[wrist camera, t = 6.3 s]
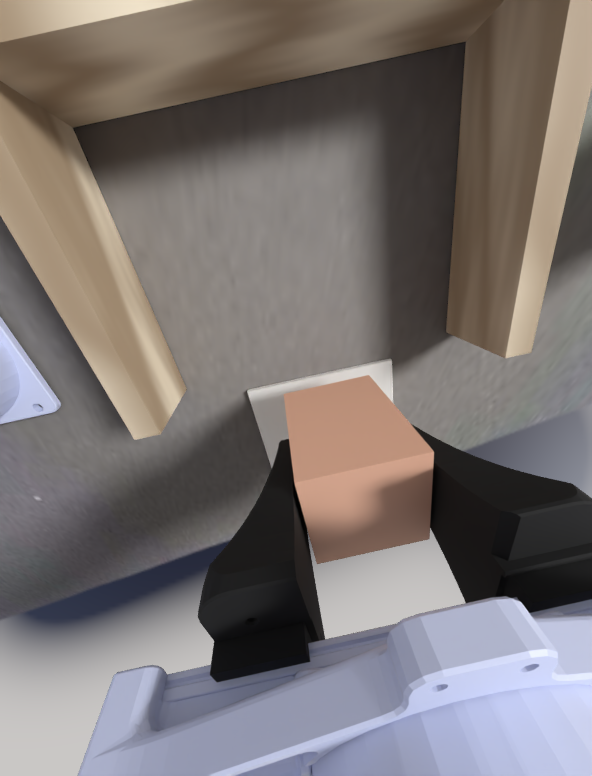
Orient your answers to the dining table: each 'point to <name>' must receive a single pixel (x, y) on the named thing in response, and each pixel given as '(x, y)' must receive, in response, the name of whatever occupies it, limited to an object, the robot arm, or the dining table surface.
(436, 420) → the dining table surface
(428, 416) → the dining table surface
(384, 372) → the pad
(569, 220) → the dining table surface
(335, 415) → the block
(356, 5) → the wooden u-shaped frame
